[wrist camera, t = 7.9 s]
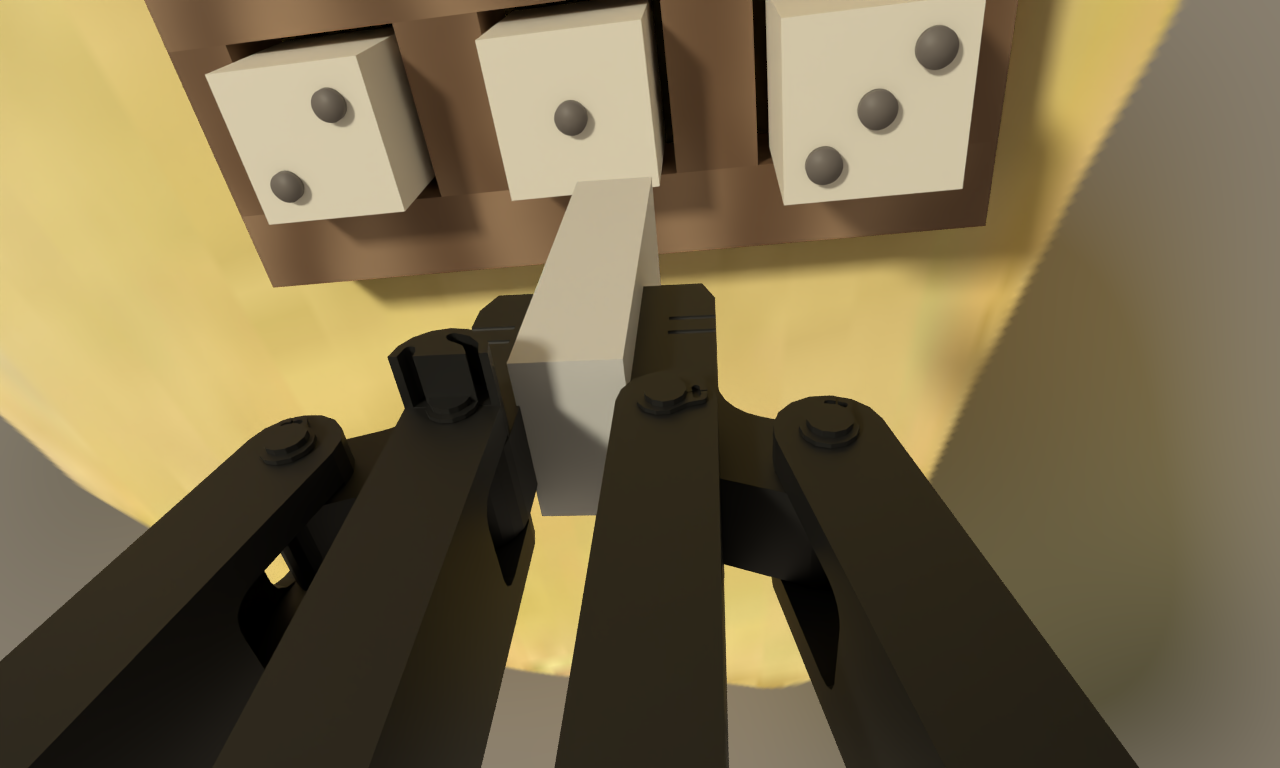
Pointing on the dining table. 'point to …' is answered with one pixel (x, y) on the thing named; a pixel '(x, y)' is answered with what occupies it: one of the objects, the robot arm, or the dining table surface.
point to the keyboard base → (526, 229)
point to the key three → (870, 95)
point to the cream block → (575, 95)
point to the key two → (326, 126)
